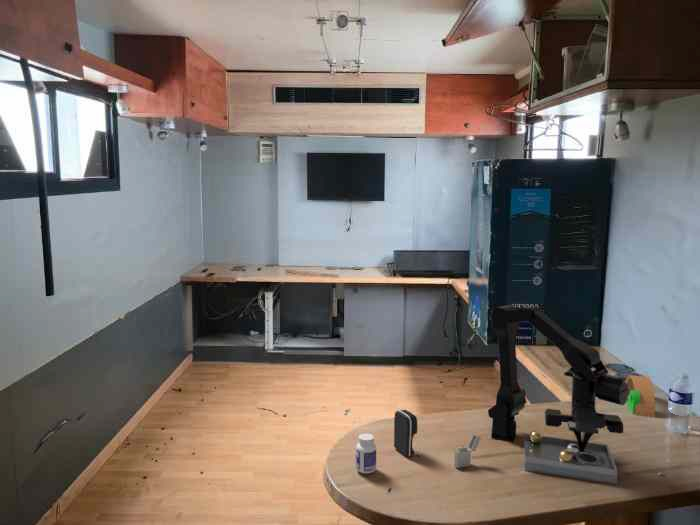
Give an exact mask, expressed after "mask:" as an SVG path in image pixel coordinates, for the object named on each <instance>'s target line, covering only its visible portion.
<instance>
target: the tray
mask: <svg viewBox="0 0 700 525" xmlns="http://www.w3.org/2000/svg"><path fill="white" fill-rule="evenodd" d="M569 444H576V445H577V446H578V447H579V445H578V441H577V439H570V438H563V437H562V438H561V437H556V436H548V435H542V440H541V442H539V443H534V442H532V441H531V439H530V433H526V432H525V433H524V434H523V460H524V464H523V465H524V471H526V472H533V473H538V474H545V475H550V476H558V477H563V478H564V477H565V478H571V479H575V480H576V479H577V480H581V481H582V480H583V481H588V482H589V481H590V482H596V483H602V484H607V485H614V486H617V484H618V476H619V475H618V473H619V471H618V467H617V465H616V463H615V460H614V458H613V455H612V452H611V450H610V448H609V444H605V443H599V442H598V443H597V442H591V441H588V443H587V445H586V447H585V450H584V452H580V454H579V455H578V456H577V457H573V460H572V462H571V463H567V462H561V461H560V460H559V453H560V452H561V451H563V450H566V448H567V446H568V445H569ZM579 449H580V448H579Z"/></svg>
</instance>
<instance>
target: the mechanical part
mask: <svg viewBox="0 0 700 525" xmlns="http://www.w3.org/2000/svg"><path fill="white" fill-rule="evenodd" d="M640 402H641V398H640V392H639V391H635V390H631V392H630V394H629V397H628V399H627V401H626V403H625V404H627V406H628V408H629V410H630V412H631V413H632V415H635V412H636V404H640Z"/></svg>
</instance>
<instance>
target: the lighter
mask: <svg viewBox="0 0 700 525" xmlns="http://www.w3.org/2000/svg"><path fill="white" fill-rule="evenodd" d="M481 438H482V437H481V436H480V435H478V434H476V433H473V435H472V437H471V439H470V442H468V446H467V445H465V444H464V445H461V446H459V447H458V449H455V450H454V457H453V458H454V459H453V466H454V467H455V468H457V469H462V468H466V467H470V466H471V458H472V455H471V453H472V452H476V450H477V448H478V445H479V444H480V442H481Z"/></svg>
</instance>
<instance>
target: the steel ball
mask: <svg viewBox="0 0 700 525" xmlns="http://www.w3.org/2000/svg"><path fill="white" fill-rule="evenodd" d="M566 450H567V451H569V452H570V453H571V454H572V456H573V457H577V456H578V455H579V454H580V449H579V447H578V446H577V445H576V444H569V445H568V446H567V448H566Z"/></svg>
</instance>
